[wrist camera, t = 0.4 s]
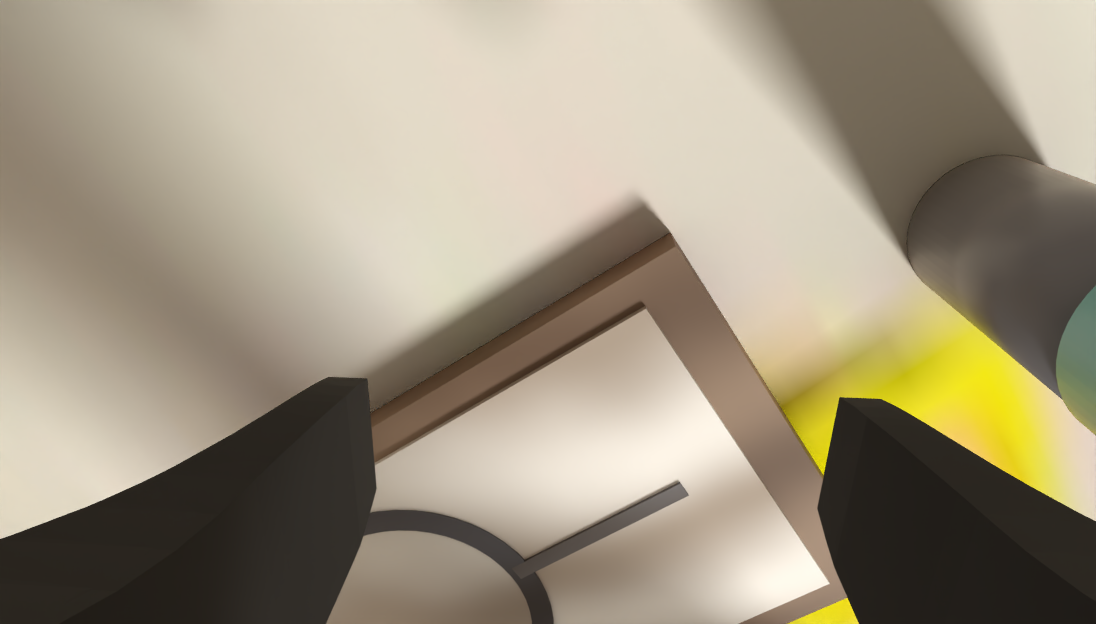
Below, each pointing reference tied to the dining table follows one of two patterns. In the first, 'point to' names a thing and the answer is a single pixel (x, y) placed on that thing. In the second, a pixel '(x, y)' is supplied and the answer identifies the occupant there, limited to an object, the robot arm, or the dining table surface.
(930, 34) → the dining table surface
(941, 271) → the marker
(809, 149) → the dining table surface
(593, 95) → the dining table surface
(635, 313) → the writing board
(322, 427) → the robot arm
